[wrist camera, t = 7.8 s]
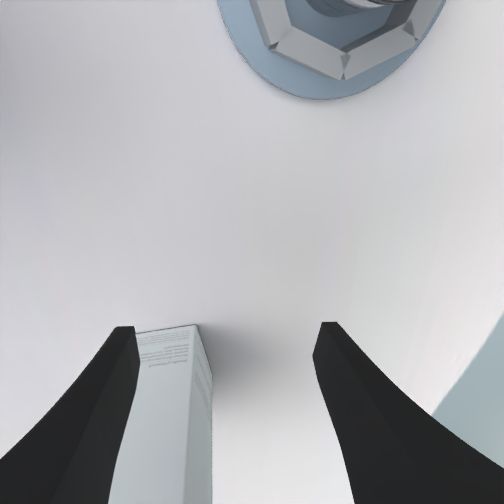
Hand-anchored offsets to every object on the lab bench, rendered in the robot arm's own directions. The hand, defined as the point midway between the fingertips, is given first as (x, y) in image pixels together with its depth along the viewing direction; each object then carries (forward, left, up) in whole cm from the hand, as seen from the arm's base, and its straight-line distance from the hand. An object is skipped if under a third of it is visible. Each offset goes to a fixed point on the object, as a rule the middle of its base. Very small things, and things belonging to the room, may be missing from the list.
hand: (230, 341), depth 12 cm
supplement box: (+9, -11, -10) cm, 17 cm away
